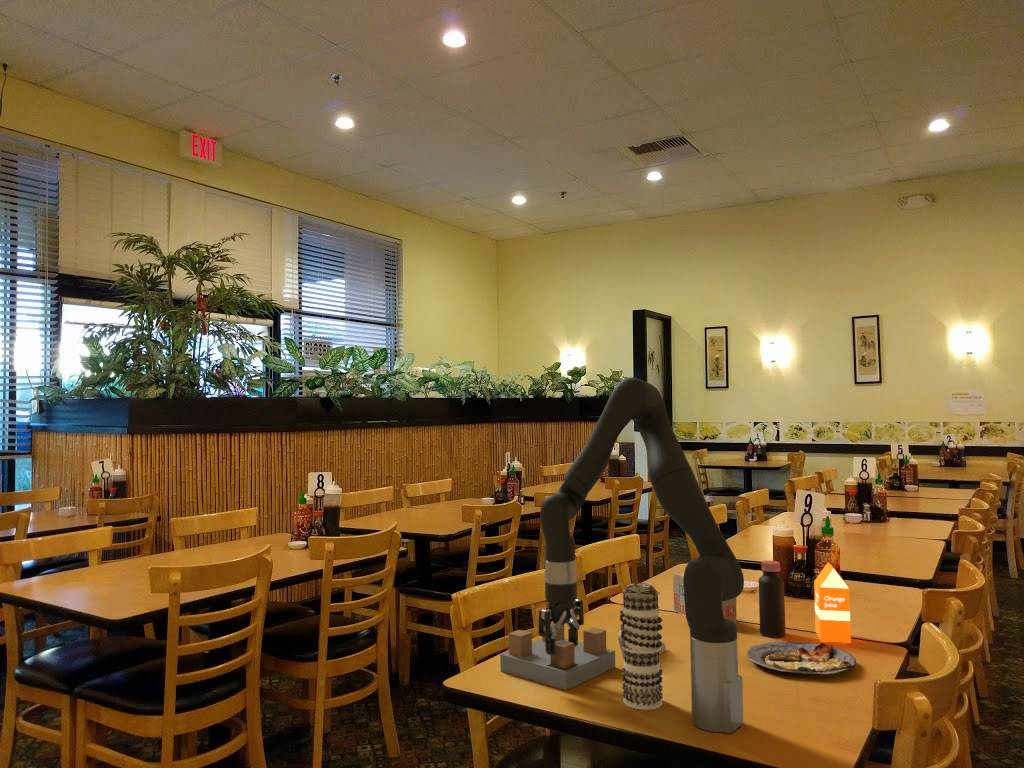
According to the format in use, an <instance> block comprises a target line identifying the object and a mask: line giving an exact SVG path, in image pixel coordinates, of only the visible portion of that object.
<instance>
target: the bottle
mask: <svg viewBox="0 0 1024 768" xmlns="http://www.w3.org/2000/svg"><path fill="white" fill-rule="evenodd" d="M761 571H762V575H761V576H760V577H759V578H758V607H759V608H758V610H759V612H758V613H759V634H761V635H762V636H764V637H768V638H774V637H775V638H777V639H778V638H783V637H785V636H786V612H785V611H786V607H785V605H786V604H785V603H786V602H785V581H784V579H783V578H782V577H781V576H780V573H781V562H780V561H776V560H763V561H761Z"/></svg>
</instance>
